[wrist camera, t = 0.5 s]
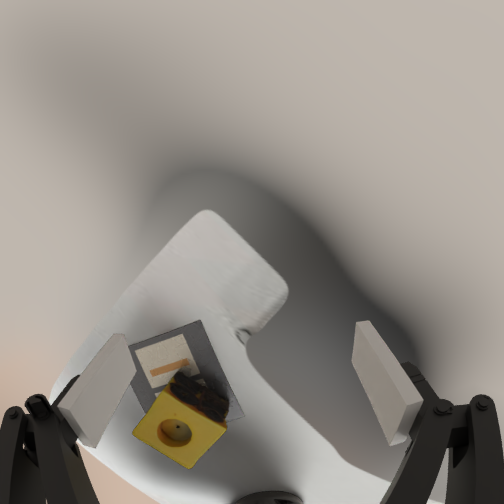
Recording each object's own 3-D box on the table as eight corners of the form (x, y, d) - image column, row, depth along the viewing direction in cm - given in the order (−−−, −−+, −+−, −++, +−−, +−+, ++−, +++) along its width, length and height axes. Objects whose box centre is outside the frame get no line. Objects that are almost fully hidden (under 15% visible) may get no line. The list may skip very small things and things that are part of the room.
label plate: (244, 415, 40) (244, 416, 40) (161, 439, 39) (161, 440, 39) (200, 320, 42) (200, 320, 42) (115, 350, 41) (115, 350, 41)
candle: (230, 401, 41) (230, 428, 31) (198, 441, 39) (191, 472, 29) (178, 367, 41) (163, 387, 31) (148, 409, 39) (130, 434, 30)
